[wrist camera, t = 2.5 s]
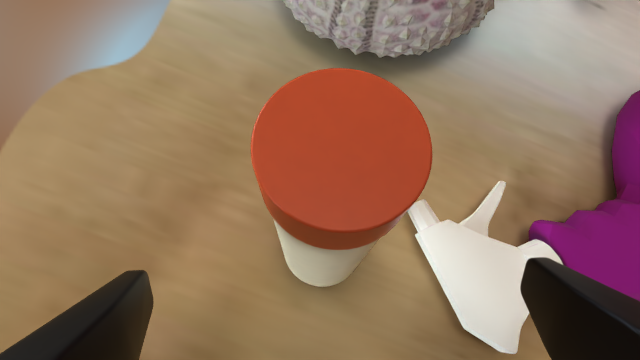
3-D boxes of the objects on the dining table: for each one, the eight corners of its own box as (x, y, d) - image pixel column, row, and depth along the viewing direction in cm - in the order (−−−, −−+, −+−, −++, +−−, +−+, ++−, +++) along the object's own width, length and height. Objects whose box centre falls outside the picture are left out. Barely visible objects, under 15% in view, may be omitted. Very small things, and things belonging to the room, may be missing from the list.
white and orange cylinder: (376, 258, 19) (471, 160, 8) (313, 307, 18) (325, 273, 7) (328, 198, 20) (355, 39, 9) (267, 242, 19) (214, 124, 8)
